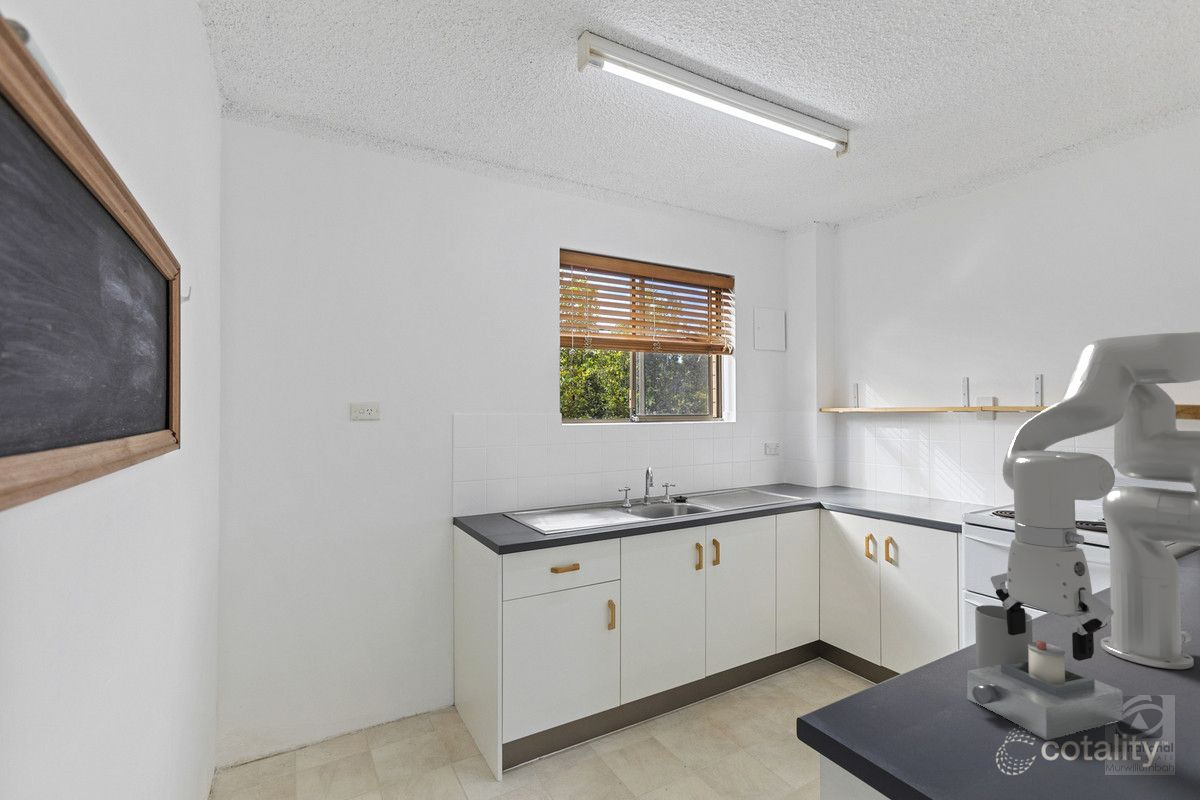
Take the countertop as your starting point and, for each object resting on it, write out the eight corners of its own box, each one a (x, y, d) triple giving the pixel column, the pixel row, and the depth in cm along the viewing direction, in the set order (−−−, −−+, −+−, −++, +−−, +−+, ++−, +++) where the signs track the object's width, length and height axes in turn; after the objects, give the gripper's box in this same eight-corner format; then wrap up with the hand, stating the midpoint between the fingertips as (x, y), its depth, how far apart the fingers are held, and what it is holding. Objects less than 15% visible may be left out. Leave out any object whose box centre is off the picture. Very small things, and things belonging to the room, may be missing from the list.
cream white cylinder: (1041, 689, 91) (1040, 634, 91) (1072, 703, 87) (1071, 645, 87) (1021, 694, 90) (1020, 637, 90) (1052, 708, 85) (1051, 649, 86)
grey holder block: (1039, 684, 96) (1038, 650, 96) (1123, 721, 85) (1122, 682, 85) (956, 701, 90) (955, 665, 90) (1034, 743, 79) (1033, 701, 79)
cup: (1043, 682, 97) (1042, 623, 97) (989, 678, 98) (988, 619, 99) (1017, 661, 105) (1016, 606, 105) (968, 657, 107) (967, 603, 107)
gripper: (1126, 545, 82) (1130, 665, 82) (1007, 522, 98) (1010, 622, 98) (1090, 551, 79) (1094, 674, 79) (974, 526, 96) (978, 628, 96)
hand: (1048, 645), depth 89 cm, fingers open, 9 cm apart
